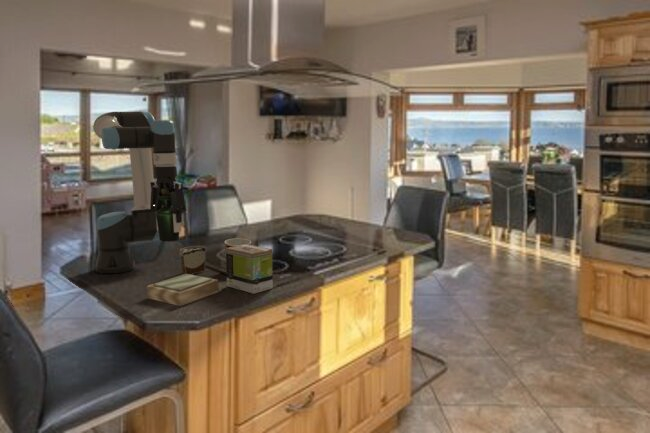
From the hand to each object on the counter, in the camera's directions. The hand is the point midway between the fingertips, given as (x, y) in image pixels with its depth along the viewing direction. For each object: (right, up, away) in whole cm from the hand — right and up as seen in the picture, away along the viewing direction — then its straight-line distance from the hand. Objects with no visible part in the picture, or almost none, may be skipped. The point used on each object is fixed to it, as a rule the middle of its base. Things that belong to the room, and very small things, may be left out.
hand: (169, 230), depth 192 cm
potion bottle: (0, -3, 0) cm, 3 cm away
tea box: (+27, -21, +8) cm, 35 cm away
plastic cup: (+19, -17, +33) cm, 42 cm away
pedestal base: (+5, -22, 0) cm, 23 cm away
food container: (0, -18, +29) cm, 34 cm away
